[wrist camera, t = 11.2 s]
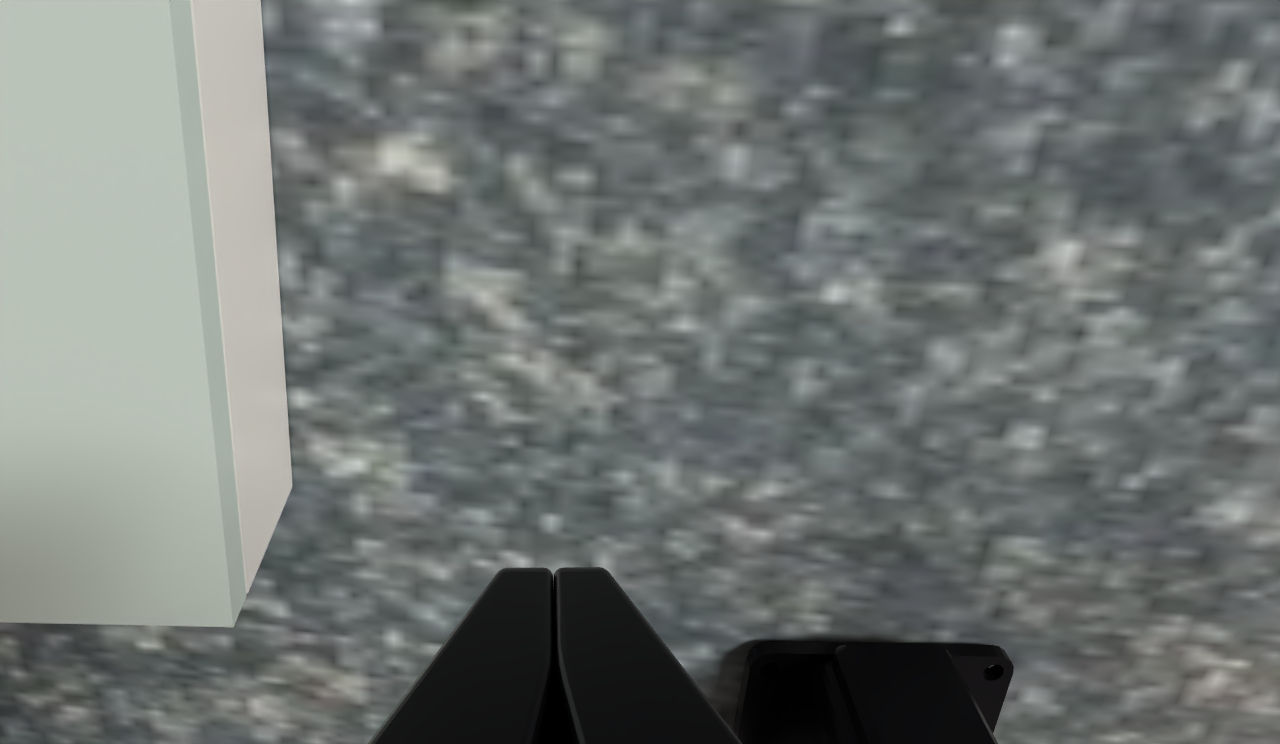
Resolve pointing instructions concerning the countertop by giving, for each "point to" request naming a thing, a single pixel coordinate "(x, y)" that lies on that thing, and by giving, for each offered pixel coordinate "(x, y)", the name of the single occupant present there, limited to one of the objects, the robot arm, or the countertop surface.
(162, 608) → the lid
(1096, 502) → the countertop surface
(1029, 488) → the countertop surface
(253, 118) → the cable duct
